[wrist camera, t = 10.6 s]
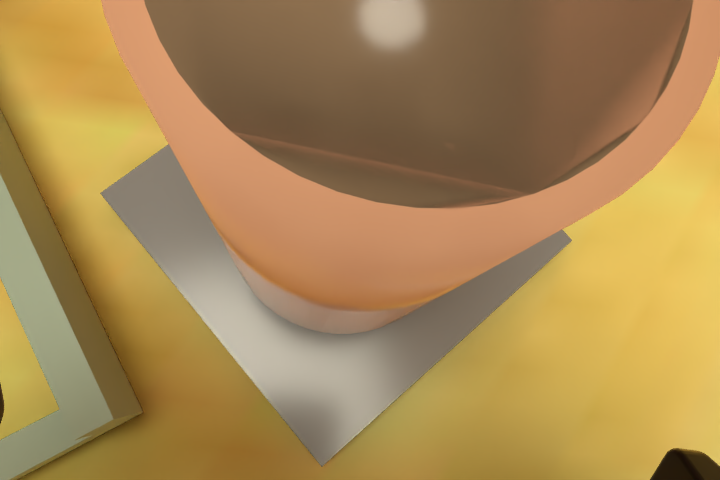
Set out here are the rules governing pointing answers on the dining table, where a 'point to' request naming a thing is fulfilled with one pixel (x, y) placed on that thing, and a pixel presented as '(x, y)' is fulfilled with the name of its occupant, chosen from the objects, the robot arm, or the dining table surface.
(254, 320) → the metal tile
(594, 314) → the dining table surface
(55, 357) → the cold frame
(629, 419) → the dining table surface
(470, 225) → the pink cup
